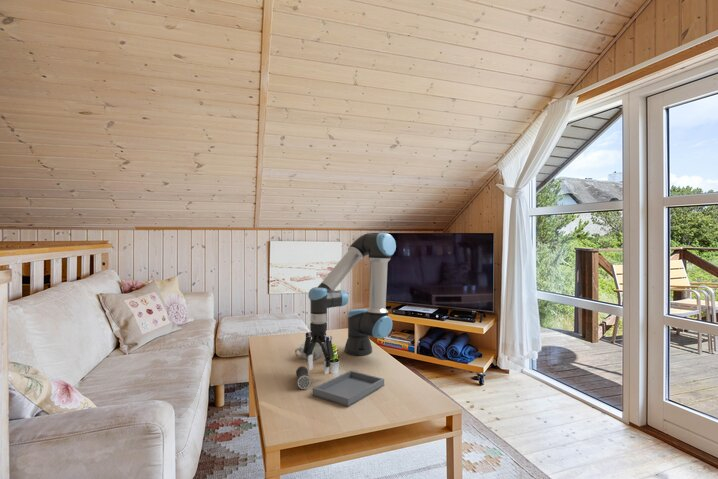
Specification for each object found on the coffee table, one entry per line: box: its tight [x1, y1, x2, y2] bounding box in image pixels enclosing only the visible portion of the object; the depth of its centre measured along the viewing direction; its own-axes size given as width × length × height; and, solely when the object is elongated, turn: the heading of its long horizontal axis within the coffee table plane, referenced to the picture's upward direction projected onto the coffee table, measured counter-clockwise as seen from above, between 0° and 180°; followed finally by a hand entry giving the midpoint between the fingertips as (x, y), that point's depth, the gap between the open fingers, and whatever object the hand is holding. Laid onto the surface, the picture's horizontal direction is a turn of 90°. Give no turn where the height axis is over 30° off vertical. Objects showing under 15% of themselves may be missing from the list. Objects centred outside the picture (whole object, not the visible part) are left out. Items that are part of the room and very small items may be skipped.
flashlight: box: [295, 365, 311, 390], centre depth 166 cm, size 15×5×5 cm
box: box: [312, 370, 385, 408], centre depth 158 cm, size 26×18×3 cm
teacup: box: [294, 342, 323, 361], centre depth 198 cm, size 15×12×8 cm
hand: (318, 371), depth 172 cm, fingers open, 9 cm apart
